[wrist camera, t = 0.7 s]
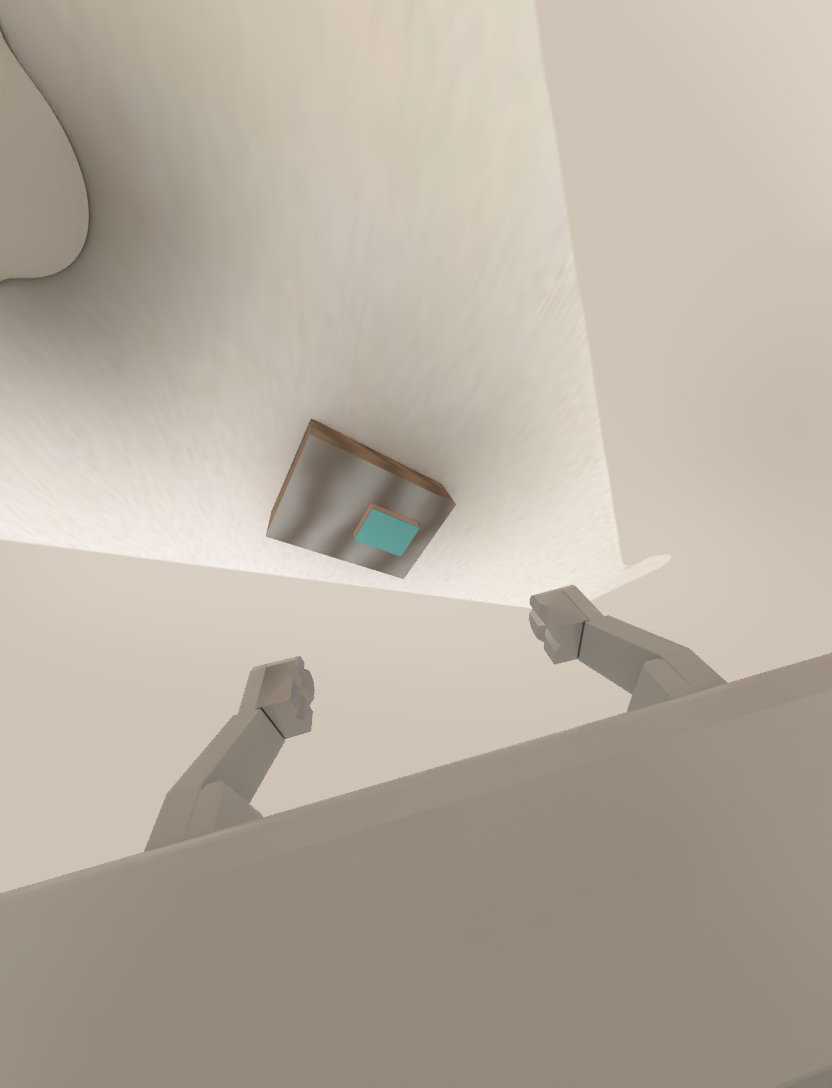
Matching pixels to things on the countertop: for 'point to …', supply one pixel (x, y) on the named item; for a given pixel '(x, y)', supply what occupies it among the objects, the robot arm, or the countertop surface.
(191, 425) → the countertop surface
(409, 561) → the board
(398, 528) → the tile
